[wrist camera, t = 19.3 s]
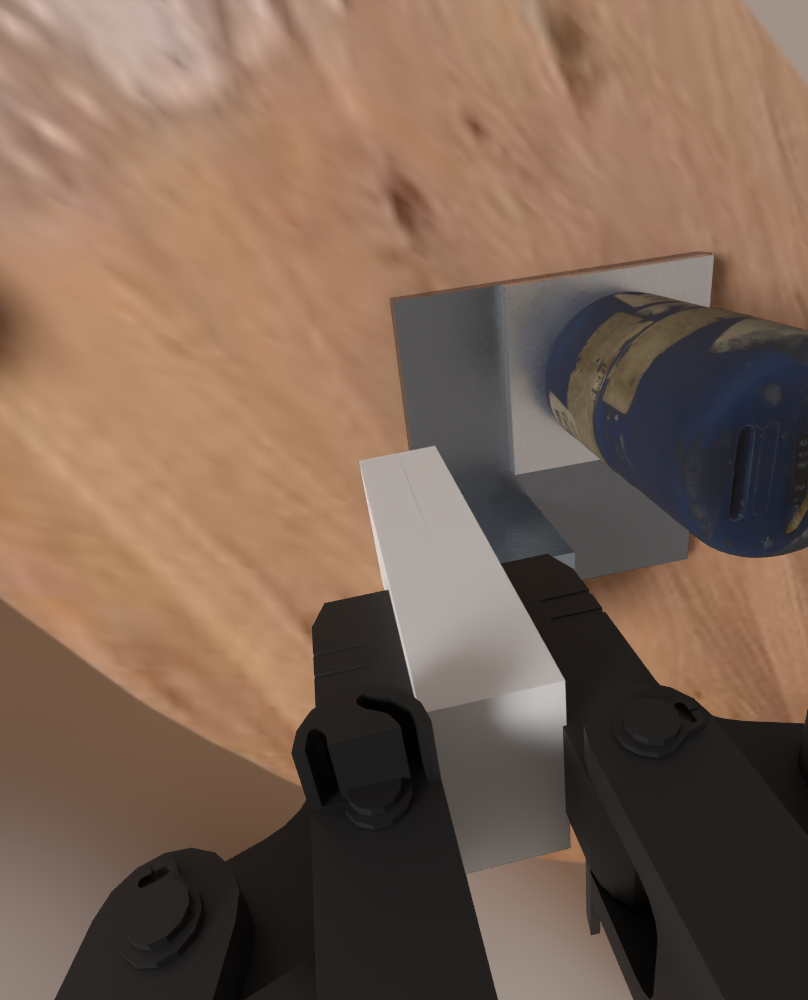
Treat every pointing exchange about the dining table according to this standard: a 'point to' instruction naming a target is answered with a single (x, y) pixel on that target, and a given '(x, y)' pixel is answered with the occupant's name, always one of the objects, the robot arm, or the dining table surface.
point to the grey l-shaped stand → (532, 414)
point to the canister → (692, 414)
